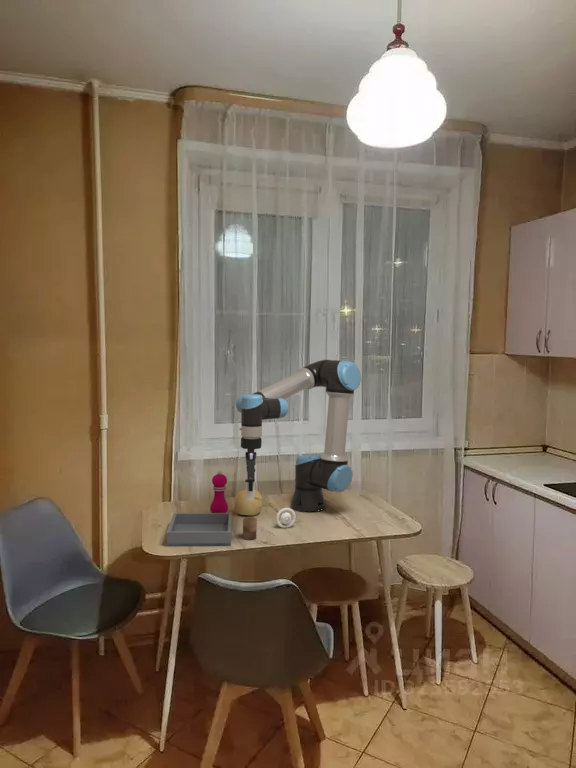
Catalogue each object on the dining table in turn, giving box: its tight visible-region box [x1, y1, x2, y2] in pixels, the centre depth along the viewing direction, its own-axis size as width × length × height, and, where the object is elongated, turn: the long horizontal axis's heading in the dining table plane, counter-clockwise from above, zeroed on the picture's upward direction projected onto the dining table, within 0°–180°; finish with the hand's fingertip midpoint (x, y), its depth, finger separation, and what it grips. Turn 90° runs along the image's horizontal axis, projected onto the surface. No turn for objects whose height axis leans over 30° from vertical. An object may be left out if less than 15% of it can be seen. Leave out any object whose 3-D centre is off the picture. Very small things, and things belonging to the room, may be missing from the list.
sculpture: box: [233, 488, 264, 517], centre depth 246 cm, size 11×12×11 cm
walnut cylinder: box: [242, 516, 258, 541], centre depth 218 cm, size 5×5×7 cm
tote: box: [166, 512, 233, 547], centre depth 219 cm, size 22×22×5 cm
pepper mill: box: [209, 470, 229, 513], centre depth 238 cm, size 7×7×20 cm
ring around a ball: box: [275, 507, 297, 529], centre depth 231 cm, size 8×6×8 cm
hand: (250, 494), depth 216 cm, fingers open, 13 cm apart
